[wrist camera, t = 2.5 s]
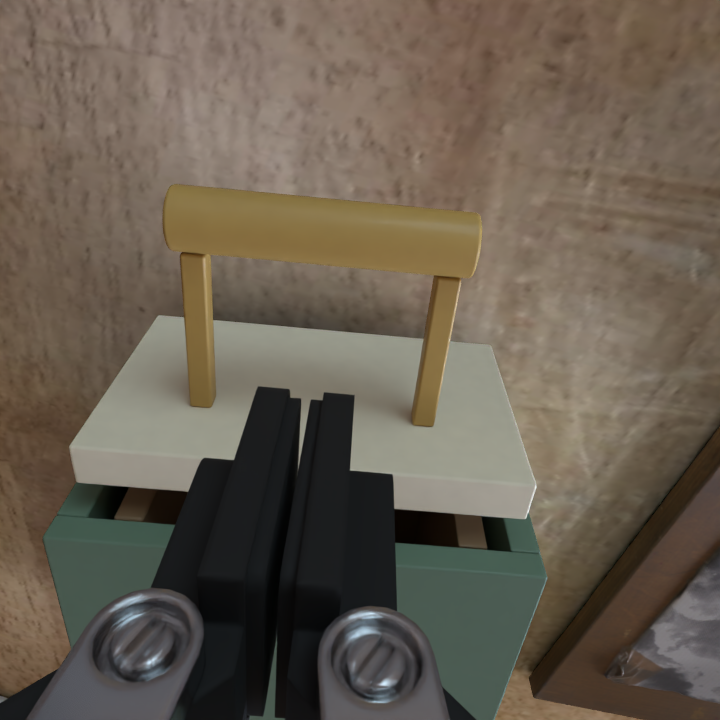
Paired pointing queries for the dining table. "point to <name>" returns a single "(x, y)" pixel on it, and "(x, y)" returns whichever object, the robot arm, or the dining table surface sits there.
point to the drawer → (315, 368)
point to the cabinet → (413, 581)
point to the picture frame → (652, 616)
